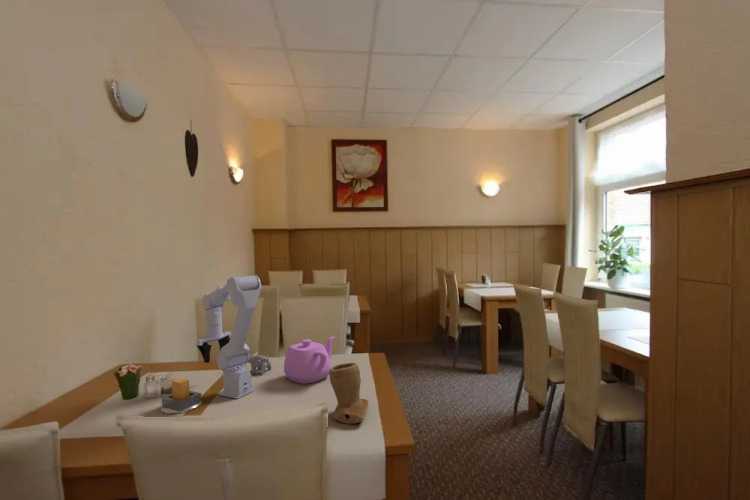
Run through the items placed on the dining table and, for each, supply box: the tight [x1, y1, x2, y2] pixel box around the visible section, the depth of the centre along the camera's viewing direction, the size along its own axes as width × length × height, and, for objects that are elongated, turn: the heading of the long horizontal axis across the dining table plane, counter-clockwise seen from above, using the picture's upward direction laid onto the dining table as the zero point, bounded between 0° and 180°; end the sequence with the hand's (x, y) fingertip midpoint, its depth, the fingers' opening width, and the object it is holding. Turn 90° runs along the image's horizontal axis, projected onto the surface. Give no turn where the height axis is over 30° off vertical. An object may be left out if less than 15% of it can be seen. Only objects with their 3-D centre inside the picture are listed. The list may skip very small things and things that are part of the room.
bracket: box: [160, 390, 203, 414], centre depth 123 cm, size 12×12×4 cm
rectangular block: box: [171, 378, 190, 400], centre depth 123 cm, size 3×4×8 cm, turn 64°
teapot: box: [283, 335, 336, 385], centre depth 147 cm, size 23×21×15 cm
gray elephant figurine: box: [247, 351, 272, 376], centre depth 155 cm, size 9×12×8 cm
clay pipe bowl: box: [328, 362, 369, 425], centre depth 113 cm, size 15×12×15 cm
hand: (215, 359), depth 143 cm, fingers open, 7 cm apart
